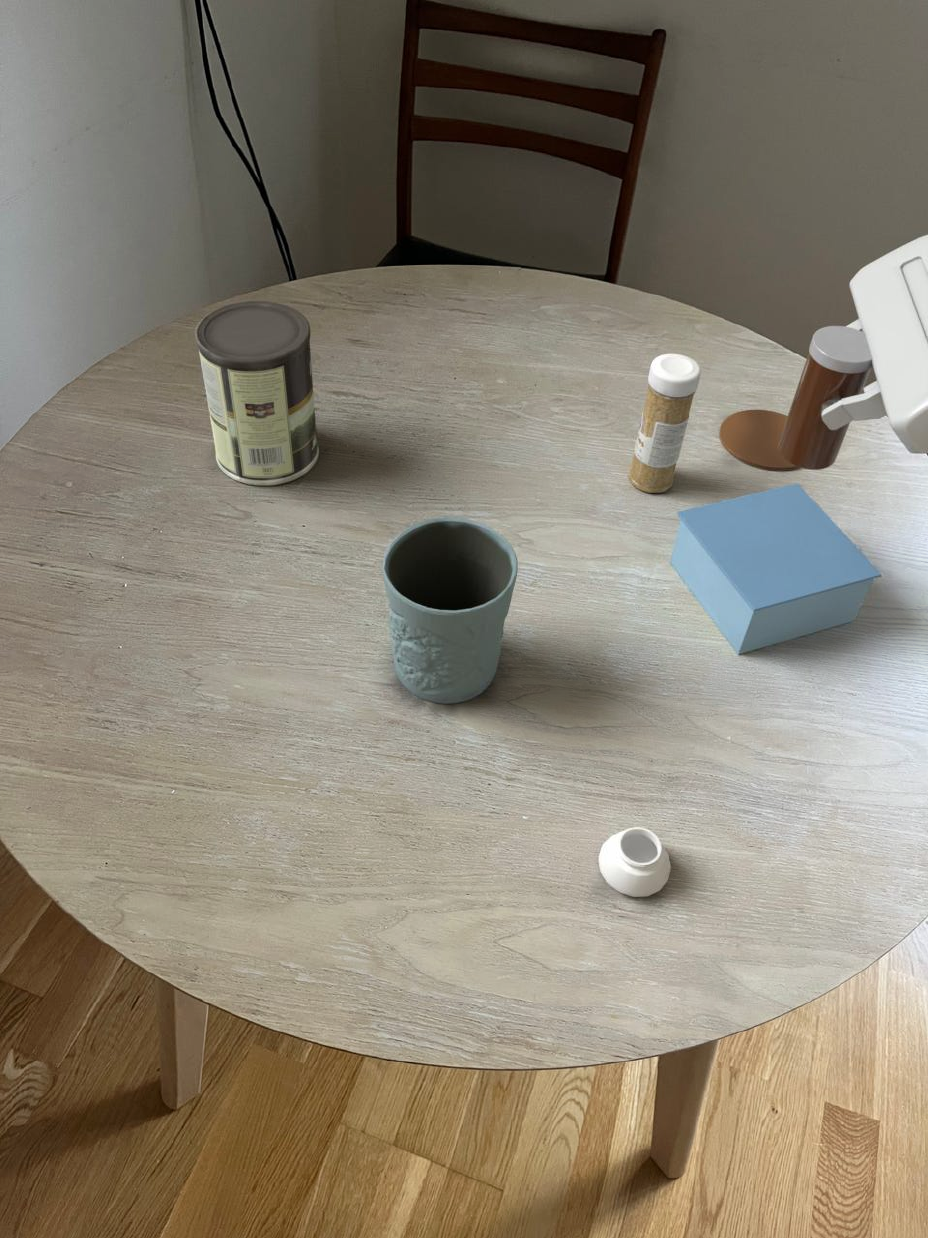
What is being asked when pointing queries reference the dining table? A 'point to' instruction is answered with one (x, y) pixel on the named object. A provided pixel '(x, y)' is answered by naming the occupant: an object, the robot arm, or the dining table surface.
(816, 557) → the storage box
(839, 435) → the cylinder
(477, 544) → the embossed green cup
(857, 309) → the robot arm
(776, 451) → the brown coaster
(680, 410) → the sprinkles bottle
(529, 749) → the dining table surface
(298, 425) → the coffee can
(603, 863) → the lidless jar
